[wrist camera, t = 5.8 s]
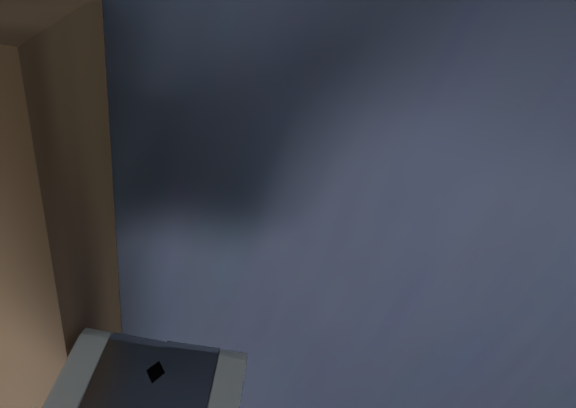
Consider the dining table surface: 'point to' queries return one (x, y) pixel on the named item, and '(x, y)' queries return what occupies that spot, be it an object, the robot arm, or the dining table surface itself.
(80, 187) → the wooden toy brick
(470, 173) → the dining table surface
